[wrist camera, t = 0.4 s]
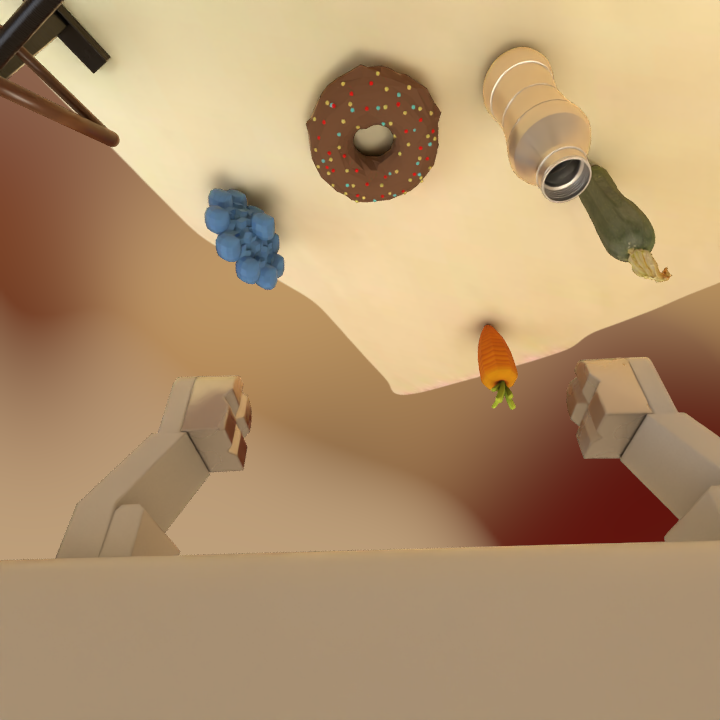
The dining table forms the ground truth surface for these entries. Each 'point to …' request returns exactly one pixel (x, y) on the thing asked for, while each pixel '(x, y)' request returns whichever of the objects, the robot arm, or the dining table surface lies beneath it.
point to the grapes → (245, 237)
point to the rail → (45, 35)
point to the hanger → (49, 109)
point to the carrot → (496, 365)
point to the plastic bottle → (539, 124)
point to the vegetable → (621, 225)
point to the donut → (361, 110)
